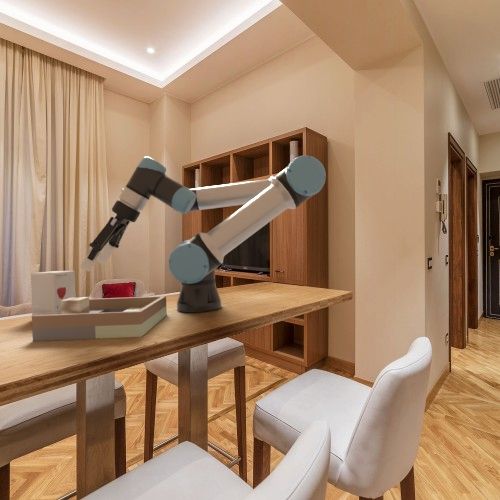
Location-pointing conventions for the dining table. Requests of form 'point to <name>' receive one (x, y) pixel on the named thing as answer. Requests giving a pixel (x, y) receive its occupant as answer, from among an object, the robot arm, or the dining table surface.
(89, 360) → the dining table surface
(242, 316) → the dining table surface
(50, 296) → the supplement box
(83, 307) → the cream block
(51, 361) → the dining table surface
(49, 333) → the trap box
